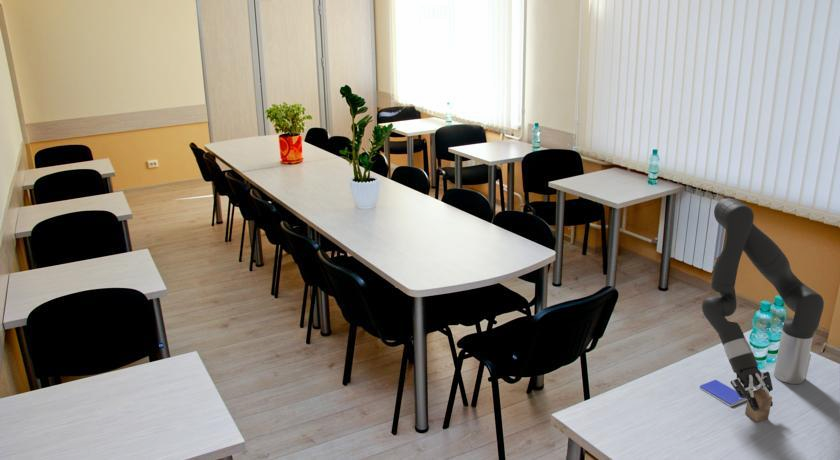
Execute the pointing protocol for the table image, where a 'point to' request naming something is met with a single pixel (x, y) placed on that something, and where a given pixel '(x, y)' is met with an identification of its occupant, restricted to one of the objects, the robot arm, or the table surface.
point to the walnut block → (760, 406)
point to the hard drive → (722, 392)
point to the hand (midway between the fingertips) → (763, 408)
